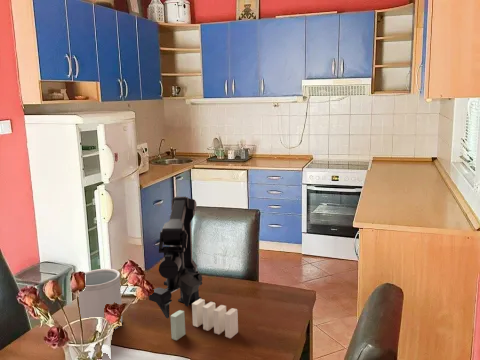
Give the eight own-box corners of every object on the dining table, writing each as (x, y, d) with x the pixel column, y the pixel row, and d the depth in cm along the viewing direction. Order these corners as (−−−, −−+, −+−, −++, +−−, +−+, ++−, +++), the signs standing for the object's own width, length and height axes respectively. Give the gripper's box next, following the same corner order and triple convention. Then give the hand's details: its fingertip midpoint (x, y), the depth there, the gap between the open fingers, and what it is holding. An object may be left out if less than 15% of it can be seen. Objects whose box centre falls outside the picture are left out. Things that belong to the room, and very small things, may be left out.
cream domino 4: (225, 336, 140) (224, 313, 139) (233, 330, 144) (232, 307, 142) (230, 338, 139) (229, 315, 137) (238, 332, 142) (237, 309, 141)
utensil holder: (70, 326, 149) (65, 278, 146) (107, 310, 160) (104, 264, 157) (94, 341, 139) (89, 289, 136) (132, 322, 151) (129, 274, 147)
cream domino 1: (192, 325, 147) (191, 303, 146) (201, 320, 151) (200, 298, 150) (197, 327, 146) (196, 304, 145) (205, 321, 150) (204, 299, 148)
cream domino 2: (203, 329, 145) (202, 306, 144) (211, 323, 149) (210, 301, 147) (208, 330, 144) (207, 308, 142) (216, 325, 147) (215, 302, 146)
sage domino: (171, 338, 140) (170, 315, 138) (180, 332, 143) (179, 309, 142) (176, 340, 138) (175, 317, 137) (185, 334, 142) (184, 311, 141)
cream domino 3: (214, 332, 142) (213, 310, 141) (222, 326, 146) (221, 304, 145) (219, 334, 141) (218, 311, 140) (226, 328, 145) (226, 306, 144)
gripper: (173, 281, 124) (176, 331, 127) (213, 261, 140) (215, 306, 143) (146, 273, 131) (149, 322, 133) (186, 254, 146) (188, 298, 149)
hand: (177, 311), depth 139 cm, fingers open, 9 cm apart
